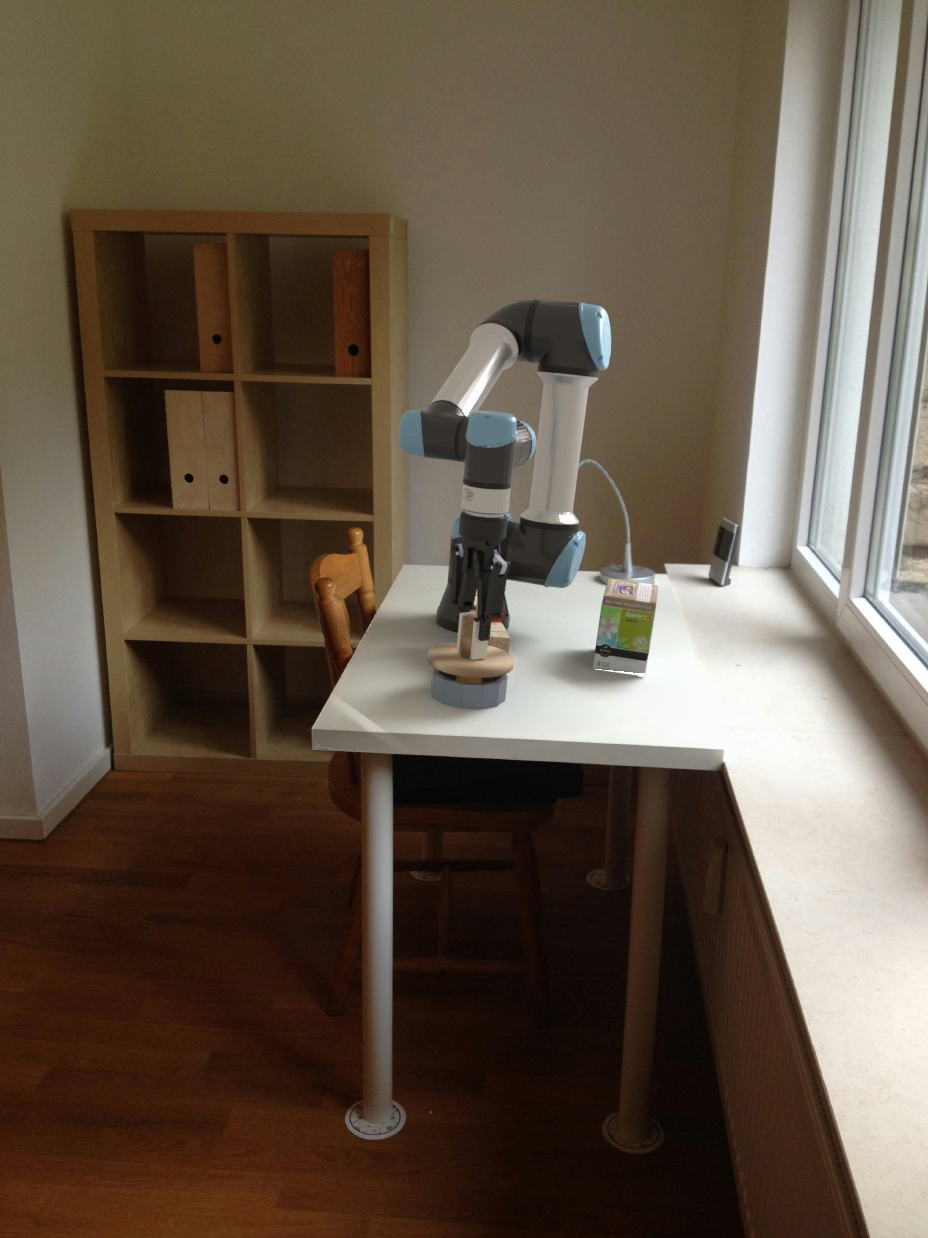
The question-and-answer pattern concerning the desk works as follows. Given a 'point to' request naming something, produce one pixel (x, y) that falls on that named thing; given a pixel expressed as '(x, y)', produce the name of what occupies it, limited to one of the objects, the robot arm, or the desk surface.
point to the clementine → (468, 679)
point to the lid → (460, 662)
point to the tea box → (625, 626)
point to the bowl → (468, 691)
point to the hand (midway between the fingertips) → (471, 654)
